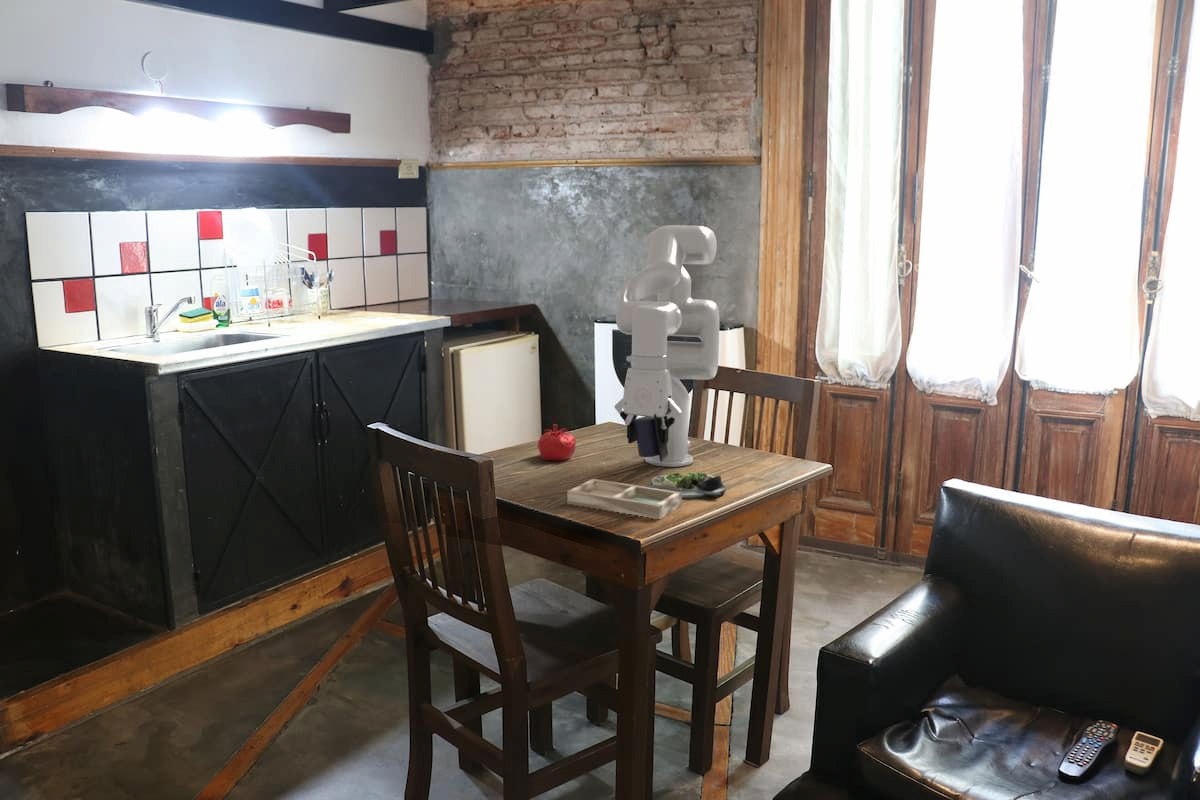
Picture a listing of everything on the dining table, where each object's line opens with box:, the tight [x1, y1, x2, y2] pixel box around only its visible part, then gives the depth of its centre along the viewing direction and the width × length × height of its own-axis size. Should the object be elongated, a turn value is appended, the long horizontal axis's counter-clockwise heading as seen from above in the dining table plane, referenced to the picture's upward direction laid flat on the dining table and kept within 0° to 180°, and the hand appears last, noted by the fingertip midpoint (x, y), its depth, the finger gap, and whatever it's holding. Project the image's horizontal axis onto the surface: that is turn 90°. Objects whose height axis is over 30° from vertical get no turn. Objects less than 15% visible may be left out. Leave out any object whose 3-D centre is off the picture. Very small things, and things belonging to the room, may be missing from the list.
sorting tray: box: [566, 478, 683, 520], centre depth 222 cm, size 12×23×3 cm, turn 62°
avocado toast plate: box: [642, 471, 727, 499], centre depth 234 cm, size 19×18×5 cm
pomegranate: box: [537, 423, 577, 462], centre depth 261 cm, size 10×10×9 cm
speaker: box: [634, 414, 668, 461], centre depth 216 cm, size 8×6×10 cm
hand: (647, 443), depth 217 cm, fingers closed on speaker, 6 cm apart
